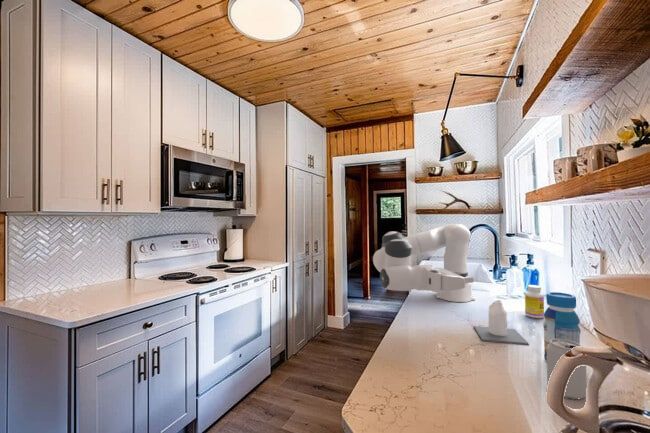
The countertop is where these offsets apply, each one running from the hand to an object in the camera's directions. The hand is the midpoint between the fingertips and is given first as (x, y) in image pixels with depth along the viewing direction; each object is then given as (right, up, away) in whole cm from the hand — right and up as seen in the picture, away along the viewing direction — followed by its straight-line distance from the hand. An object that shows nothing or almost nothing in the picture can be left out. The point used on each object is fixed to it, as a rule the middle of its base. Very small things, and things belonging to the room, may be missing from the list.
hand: (465, 276), depth 108 cm
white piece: (+12, -21, +1) cm, 24 cm away
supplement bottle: (+39, -21, +21) cm, 50 cm away
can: (+8, -21, -35) cm, 41 cm away
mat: (+12, -21, +1) cm, 24 cm away
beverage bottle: (+18, -21, -21) cm, 35 cm away
